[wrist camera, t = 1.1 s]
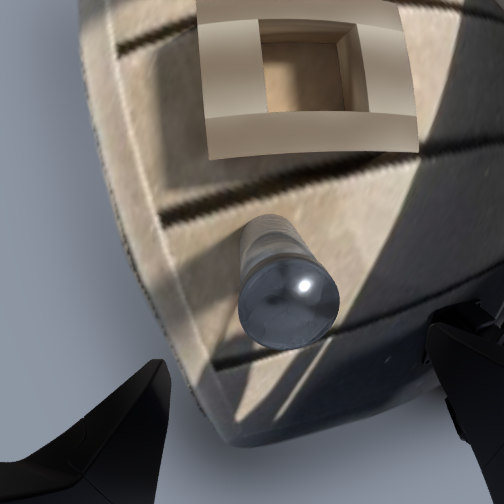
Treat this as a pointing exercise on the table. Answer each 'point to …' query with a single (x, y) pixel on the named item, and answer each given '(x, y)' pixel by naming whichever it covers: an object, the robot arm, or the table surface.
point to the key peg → (283, 286)
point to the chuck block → (305, 122)
